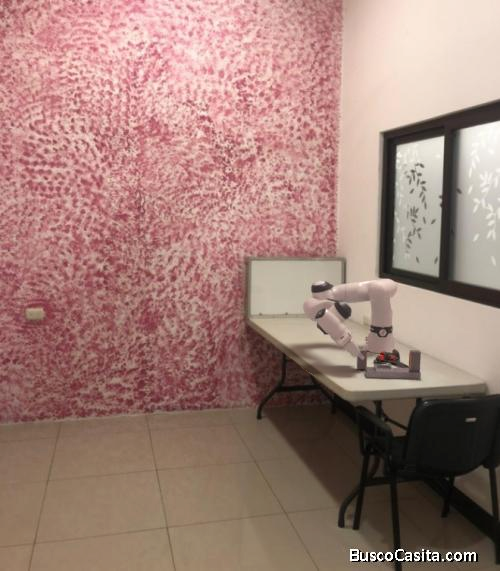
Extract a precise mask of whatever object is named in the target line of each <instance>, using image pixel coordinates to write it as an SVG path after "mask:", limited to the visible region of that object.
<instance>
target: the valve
mask: <svg viewBox="0 0 500 571" xmlns="http://www.w3.org/2000/svg"><path fill="white" fill-rule="evenodd" d="M400 355H401V354H400V352H399V349H398V350H396V349H394V350H393V351H392V353H390V352H386V351H382V352H380V353H379V354H378V355H377V356H376V357H375V359H374V360H373V364H374V365H389V364H393V365H397V366H399V367H400V368H409V364H408V365H407V364H406V363H403V362H402V361H401V360H400V359H401V356H400Z"/></svg>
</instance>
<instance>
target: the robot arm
mask: <svg viewBox="0 0 500 571" xmlns="http://www.w3.org/2000/svg"><path fill="white" fill-rule="evenodd" d="M397 285H398V284H397V283H396V281H394V280H393V279H391V278H380V279H374V280H373V279H372V280H366V281H358V282H357V281H356V282H350V283H342V284H338V285H335V286H334V285H333V284H331V283H330V282H328V281H327V280H318V281H316V282H313V283H312V284H311V286H310V290H311V294H312V296H311V297H310V298H307V299H306V300H305V301H304V302H303V305H302V306H303V312H304V314H305V316H306V317H308V319H310V320H311V321H312V322H316V328H317V329H318V330H320V331H321V332H322V334H323V335H325V336H327V335H328V336H330V338H331V339H332V341H334V343H335V344H337V345H338V346H339V347H341V348H344V349H345V350H346V351H347V352H348V353H349V354H350V355H352V356H353V357H355V358H357V356H358V357H359V358H361V359H362V360H363V359H364V358H365V357H364V356H363V355H362V354H361V352H360V350H359V349H360V348H359V346H358V344H357V342H356V341H355V340H354V338H353V336H352V333H353V332H352V331H351V330H350V329H349V328H348V327H347V326H346V325H345V324H344V322H345V321H346V320H348V319H349V318H350V317H351V316H352V313H353V311H352V308H351V306H350V305H349V304H356V303H365V302H370V303H369V304H370V307H371V309H370V310H371V321H370V322H371V323H370V326H369V333H368V335H367V336H365V337H364V338H365V340H364V341H365V343H364V345H363V348H362V349H366V351H367V352H370V353H374V354H380V352H382V351H386V352H390V353H392V351H393V350H394V349H396V350H398V351H399V349H398V348H397V347H396V336H395V335H394V334H393V331H394V326H393V309H392V305H391V298H393V297H394V296H395V295H396V293H397V290H398V286H397Z"/></svg>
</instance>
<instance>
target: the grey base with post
mask: <svg viewBox="0 0 500 571" xmlns="http://www.w3.org/2000/svg"><path fill="white" fill-rule="evenodd" d="M421 355H422V352H421V351H420V350H416V349H410V350H409V354H408V366H409V368H402V367H393V365H392V364H383V365H378V364H373V366H367V367H365V369H364V374H365V376H366V378H367V379H368V378H370V379H398V380H401V379H402V380H421V377H422V374H421V357H422V356H421Z"/></svg>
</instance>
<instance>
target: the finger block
mask: <svg viewBox="0 0 500 571" xmlns="http://www.w3.org/2000/svg"><path fill="white" fill-rule="evenodd" d="M359 350H360V352H361V354H362V355H363V356H364V357H365V358H364V359H363V360H362V359H361V358H359V357H358V356H357V357H356V369H357V370H365V367H368V351H366V349H363V348H359Z"/></svg>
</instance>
